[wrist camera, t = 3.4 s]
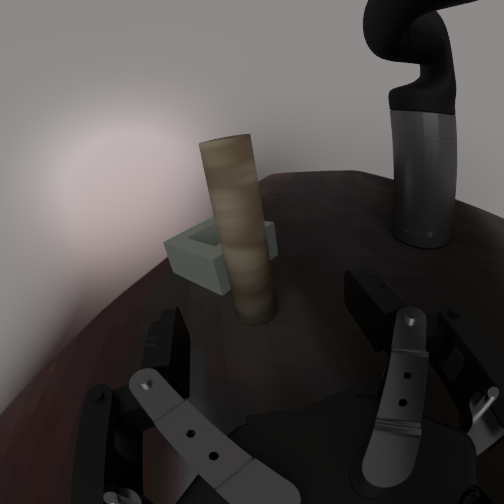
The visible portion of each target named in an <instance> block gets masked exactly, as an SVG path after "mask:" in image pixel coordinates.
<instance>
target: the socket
mask: <svg viewBox="0 0 504 504" xmlns="http://www.w3.org/2000/svg"><path fill="white" fill-rule="evenodd" d="M264 223H265V230H266V237H267V243H268V250H269V257H270V261H271V260H272V259H273V258H275V257H276V256H277V255H278V248H277V241H276V233H275V226H274V222H268V221H264ZM164 246H165V249H166V251H167V255H168V258H169V261H170V264H171V267H172V270H173V272H174V273H176V274H178V275H180V276H182V277H184V278H186V279H188V280H190V281H192V282H194V283H196V284H198V285H200V286H202V287H205V288H207V289H209V290H211V291H213V292H215V293H217V294H219V295H222V296H223V295H225V294H226V293H227V292H229V291H230V290H231V286H230V282H229V278H228V273H227V269H226V265H225V261H224V257H223V252H222V248H221V244H220V240H219V235H218V231H217V226H216V222H215V218H214V217H212V218H210V219H208V220H206V221H204V222H202V223H200V224H198V225H196V226H194V227H192V228H190V229H189V230H186V231H185V232H182V233H181V234H178V235H177V236H175V237H173V238H171V239H169V240H167V241H165V242H164Z"/></svg>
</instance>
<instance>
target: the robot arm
mask: <svg viewBox="0 0 504 504" xmlns="http://www.w3.org/2000/svg"><path fill="white" fill-rule="evenodd" d="M474 1H477V0H368V2H367V5H366V7H365V11H364V18H363V32H364V37H365V40H366V43H367V45H368V47H369V48H370V49H371V51H372V52H373V53H374V54H375V55H376V56H378V57H380V58H382V59H385V60H389V61H394V62H404V63H414V64H420V77H419V78H418V79H417V80H416V81H414V82H412V83H410V84H408V85H404V86H401V87H397V88H394V89H392V90H391V91H390V92H389V106H390V110H391V111H390V115H391V127H392V140H393V159H394V207H393V230H392V231H393V234H394V235H395V237H396V238H398V239H399V240H401V241H403V242H404V243H407V244H409V245H413V246H416V247H422V248H437V247H442V246H444V245H446V244H447V243H448V242H449V241H450V236H451V229H452V222H453V214H454V205H455V194H456V178H457V132H456V116H455V98H456V80H455V72H454V65H453V58H452V52H451V45H450V40H449V36H448V32H447V29H446V26H445V24H444V22H443V20H442V18H441V16H440V15H439V14H438V13H437V12H436V10H440V9H444V8H448V7H453V6H457V5H461V4H465V3H470V2H474ZM344 301H345V305H346V307H347V309H348V310H349V312H350V313H351V315H352V316H353V318H354V319H355V321H356V322H357V324H358V325H359V327H360V328H361V330H362V331H363V333H364V334H365V336H366V337H367V339H368V340H369V342H370V343H371V345H372V346H373V348H374V350H375V351H376V353H378V352H380V351H383V350H385V351H386V352H387V355H386V359H385V363H384V368H383V373H382V377H381V381H380V385H379V389H378V392H377V396H373V395H364V394H363V395H355V394H354V392H353V390H352V388H351V389H349V390H346V391H343V392H340V393H337V394H334V395H331V396H327V397H326V398H324V399H322V400H320V401H319V402H317V403H315V404H313V405H311V406H309V407H307V408H306V409H303V410H297V411H271V412H266V413H261V414H256V415H251V416H246V422H247V424H244V425H242V426H240V427H238V428H237V429H235V430H234V431H232V432H231V433H230V434H229V435H227V436H225V435H224V434H223V433H222V432H221V431H220V430H219V429H217V428H216V427H215V426H214V425H213V424H212V423H211V422H210V421H208V420H207V419H206V418H205V417H204V416H203V415H202V414H201V413H200V412H199V411H198V410H197V409H196V408H195V407H194V406H193V405H192V404H191V403H190V402H188V401H187V400H186V399H185V398H189V384H190V336H189V332H188V329H187V327H186V324H185V322H184V320H183V317H182V315H181V312H180V310H179V308H178V307H174V308H168V309H163V310H162V312H161V317H160V321H156V322H154V323H153V324H152V325H151V327H150V328H149V330H148V334H147V340H146V344H145V345H146V346H145V348H144V353H143V358H142V364H141V369H140V370H139V371H138V372H136V373H135V374H134V375H133V376H132V377H131V379H130V381H129V384H128V385H126V386H123V387H121V388H118V389H115V390H112V389H111V388H110V387H109V386H107V385H105V384H99V385H96V386H94V387H92V388H91V389H90V390H89V391H88V392H87V394H86V396H85V400H84V405H83V410H82V415H81V420H80V425H79V431H78V437H77V443H76V450H75V458H74V466H73V476H72V489H71V504H154V503H153V502H152V501H151V500H150V499H149V498H148V497H146V496H144V495H143V469H142V440H143V430H146V429H149V428H152V427H155V426H156V427H157V428H158V429H159V431H160V432H161V433H162V434H163V435H164V437H165V438H166V439H167V440H168V441H169V443H170V444H171V445H172V446H173V447H174V448H175V449H176V451H177V452H178V453H179V454H180V455H181V456H182V457H183V458H184V459H185V460H186V461H187V462H188V464H189V465H190V466H191V467H192V468H193V469H194V470H195V471H196V472H197V473H198V475H197V477H196V478H195V479H194V481H193V482H192V483H191V484H190V486H189V487H188V488H187V490H186V491H185V492H184V494H183V495H182V496H181V497H180V499H179V500H178V501H177V502H176V504H496V503H495V502H494V501H492V500H491V499H490V498H489V497H488V496H487V495H486V494H485V493H484V492H483V491H482V490H481V488H480V487H479V484H478V479H477V471H476V461H477V456H478V455H479V454H481V453H482V452H483V451H485V450H490V449H492V448H494V447H495V446H496V445H497V444H498V443H500V442H501V441H502V440H503V439H504V353H503V352H502V351H501V350H500V348H499V347H498V346H497V345H496V343H495V342H494V341H493V340H492V339H491V337H490V336H489V335H488V334H487V333H486V332H485V330H484V329H483V328H482V327H481V326H480V325H479V324H478V322H477V321H476V320H475V319H474V318H473V317H472V316H471V315H470V314H469V313H468V311H467V310H466V309H465V308H464V307H463V306H461V305H460V304H457V303H453V302H449V303H445V304H444V305H443V306H442V307H441V310H440V313H435V314H426V315H425V314H424V312H423V311H421V310H420V309H418V308H415V307H407V306H406V305H405V304H404V303H403V302H402V301H401V300H400V299H399V298H398V296H397V295H396V294H395V293H394V292H393V291H391V289H390V288H389V287H388V286H386V284H385V283H384V282H383V281H382V279H381V278H379V277H377V276H375V275H373V274H369V275H368V274H367V273H366V272H365V271H364V269H363V268H362V267H356V268H353V269H349V270H346V271H345V276H344ZM455 345H456V346H457V348H458V349H459V350H460V352H461V353H462V355H463V357H464V360H463V359H462V357H461V356H460V355H459V353H458V352H457V351H456V349H455V348H454V347H455ZM428 360H429V362H430V364H431V365H432V367H433V368H434V370H435V371H436V373H437V374H438V376H439V378H440V379H441V381H442V382H443V384H444V386H445V387H446V389H447V391H448V392H449V394H450V396H451V397H452V399H453V401H454V402H455V404H456V406H457V408H458V409H459V411H460V414H459V429H457V428H454V427H452V426H449V425H446V424H443V423H441V422H438V421H436V420H433V419H430V418H428V417H425V416H423V415H422V414H423V408H424V401H425V393H426V384H427V374H428ZM184 399H185V400H184Z"/></svg>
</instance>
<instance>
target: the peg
mask: <svg viewBox="0 0 504 504" xmlns="http://www.w3.org/2000/svg"><path fill="white" fill-rule="evenodd" d="M199 147H200V152H201V157H202V161H203V167H204V171H205V176H206V181H207V186H208V190H209V195H210V199H211V204H212V209H213V213H214V218H215V222H216V226H217V231H218V235H219V240H220V244H221V248H222V252H223V257H224V261H225V265H226V269H227V273H228V278H229V282H230V286H231V290H232V294H233V298H234V302H235V306H236V310H237V314H238V317H239V319H240V321H242V322H243V323H245V324H248V325H261V324H264V323H267V322H269V321H270V320H272V319H273V318H274V317H275V315H276V313H277V306H276V298H275V291H274V284H273V277H272V270H271V264H270V257H269V250H268V243H267V237H266V230H265V223H264V217H263V211H262V204H261V198H260V191H259V185H258V179H257V173H256V167H255V161H254V154H253V148H252V142H251V137H250V134H243V135H236V136H230V137H224V138H219V139H214V140H210V141H206V142H202V143H199Z"/></svg>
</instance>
